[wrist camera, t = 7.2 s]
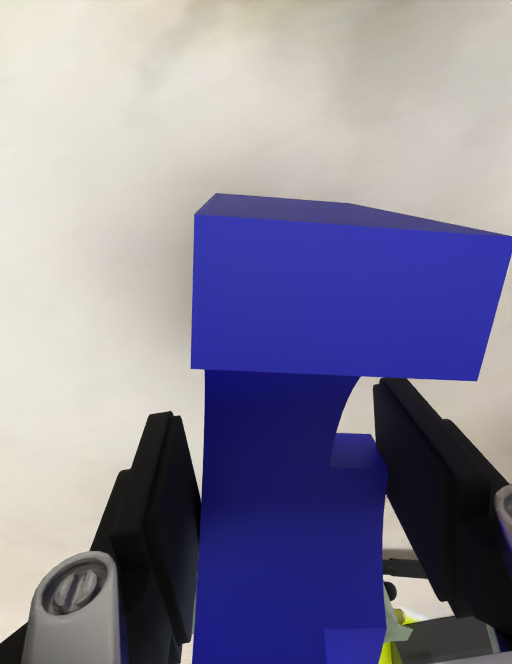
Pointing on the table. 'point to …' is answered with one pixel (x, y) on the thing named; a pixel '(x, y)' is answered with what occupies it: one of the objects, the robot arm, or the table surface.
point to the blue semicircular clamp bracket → (314, 408)
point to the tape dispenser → (442, 641)
